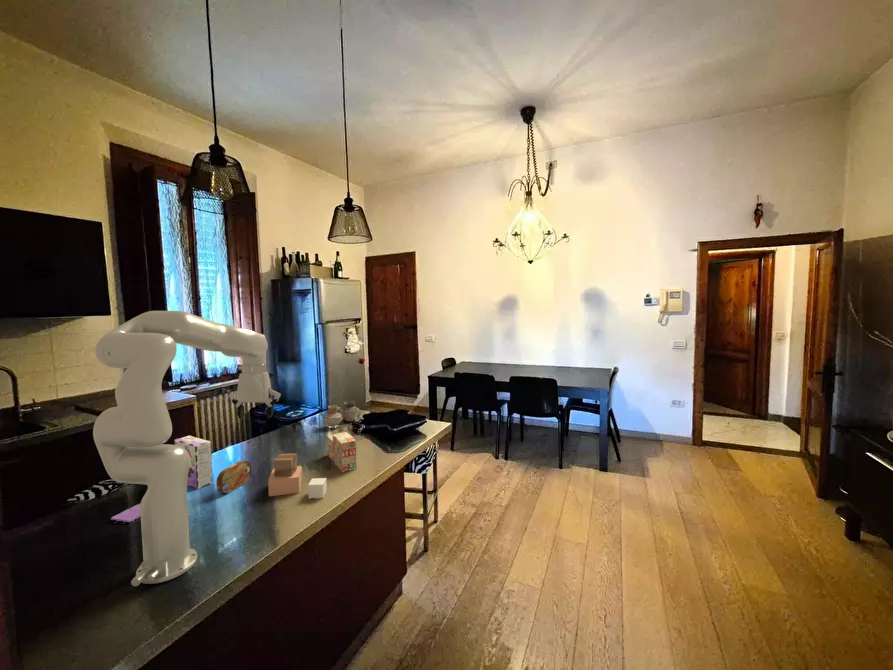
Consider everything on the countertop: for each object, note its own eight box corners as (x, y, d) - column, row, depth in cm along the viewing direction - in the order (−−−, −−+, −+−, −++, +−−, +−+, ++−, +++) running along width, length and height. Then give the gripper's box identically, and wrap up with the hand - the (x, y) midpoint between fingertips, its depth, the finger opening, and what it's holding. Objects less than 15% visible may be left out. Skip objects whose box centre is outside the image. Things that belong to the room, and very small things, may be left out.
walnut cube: (291, 476, 137) (291, 459, 137) (274, 476, 137) (273, 460, 137) (297, 469, 143) (296, 453, 143) (280, 469, 143) (279, 454, 143)
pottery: (319, 429, 209) (318, 407, 208) (347, 417, 232) (347, 397, 231) (336, 431, 205) (335, 409, 204) (363, 419, 228) (363, 399, 227)
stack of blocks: (326, 455, 172) (326, 428, 171) (340, 452, 175) (340, 426, 174) (341, 472, 154) (341, 442, 153) (356, 469, 157) (356, 439, 156)
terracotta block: (299, 493, 137) (298, 477, 137) (268, 496, 135) (268, 480, 134) (302, 481, 147) (301, 465, 146) (273, 484, 144) (273, 468, 144)
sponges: (167, 505, 130) (166, 500, 129) (128, 526, 117) (128, 520, 117) (150, 503, 131) (149, 497, 131) (110, 523, 119) (110, 517, 119)
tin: (222, 497, 134) (221, 474, 133) (215, 496, 134) (213, 473, 134) (252, 478, 149) (251, 457, 148) (245, 478, 149) (244, 456, 149)
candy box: (175, 481, 146) (173, 439, 145) (192, 475, 151) (190, 434, 150) (197, 489, 140) (194, 445, 138) (213, 483, 145) (211, 440, 144)
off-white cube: (323, 498, 133) (322, 484, 133) (308, 498, 133) (308, 484, 133) (326, 491, 138) (326, 478, 138) (312, 492, 138) (312, 478, 138)
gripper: (223, 370, 130) (224, 420, 131) (275, 370, 131) (276, 420, 132) (234, 367, 138) (235, 415, 139) (283, 367, 138) (284, 414, 139)
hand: (255, 417), depth 135 cm, fingers open, 9 cm apart
